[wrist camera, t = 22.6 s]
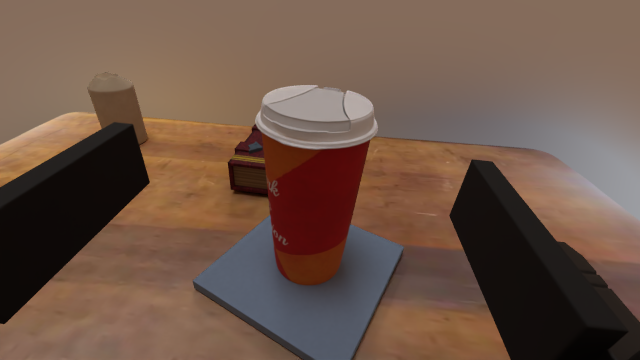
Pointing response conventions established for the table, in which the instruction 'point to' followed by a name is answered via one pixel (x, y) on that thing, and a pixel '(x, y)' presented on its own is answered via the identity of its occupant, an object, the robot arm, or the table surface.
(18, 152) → the table surface
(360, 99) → the coffee cup
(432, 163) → the table surface
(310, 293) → the cup mat
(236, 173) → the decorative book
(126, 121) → the candle
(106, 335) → the table surface
